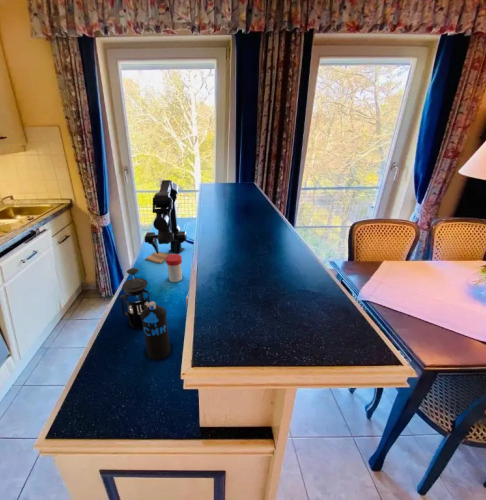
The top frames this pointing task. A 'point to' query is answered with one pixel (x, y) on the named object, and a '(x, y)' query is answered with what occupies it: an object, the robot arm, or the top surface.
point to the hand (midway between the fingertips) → (167, 253)
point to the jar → (175, 273)
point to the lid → (173, 259)
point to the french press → (135, 289)
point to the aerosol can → (156, 331)
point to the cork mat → (157, 257)
